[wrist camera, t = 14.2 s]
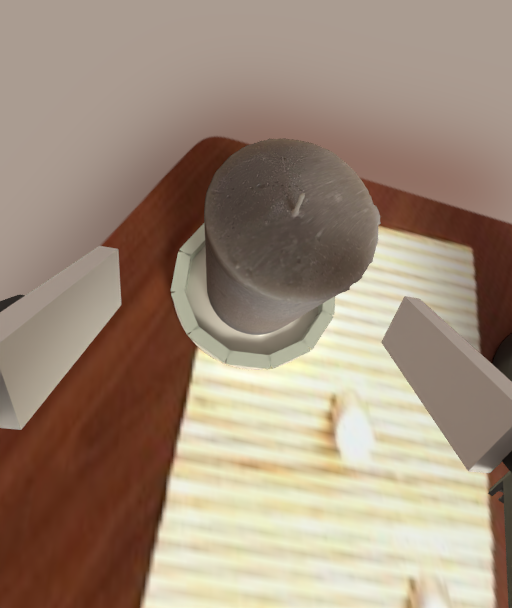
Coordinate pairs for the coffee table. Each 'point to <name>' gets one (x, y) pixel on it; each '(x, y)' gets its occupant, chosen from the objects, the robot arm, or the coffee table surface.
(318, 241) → the pillar candle
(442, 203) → the coffee table surface
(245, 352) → the candle plate
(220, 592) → the coffee table surface
